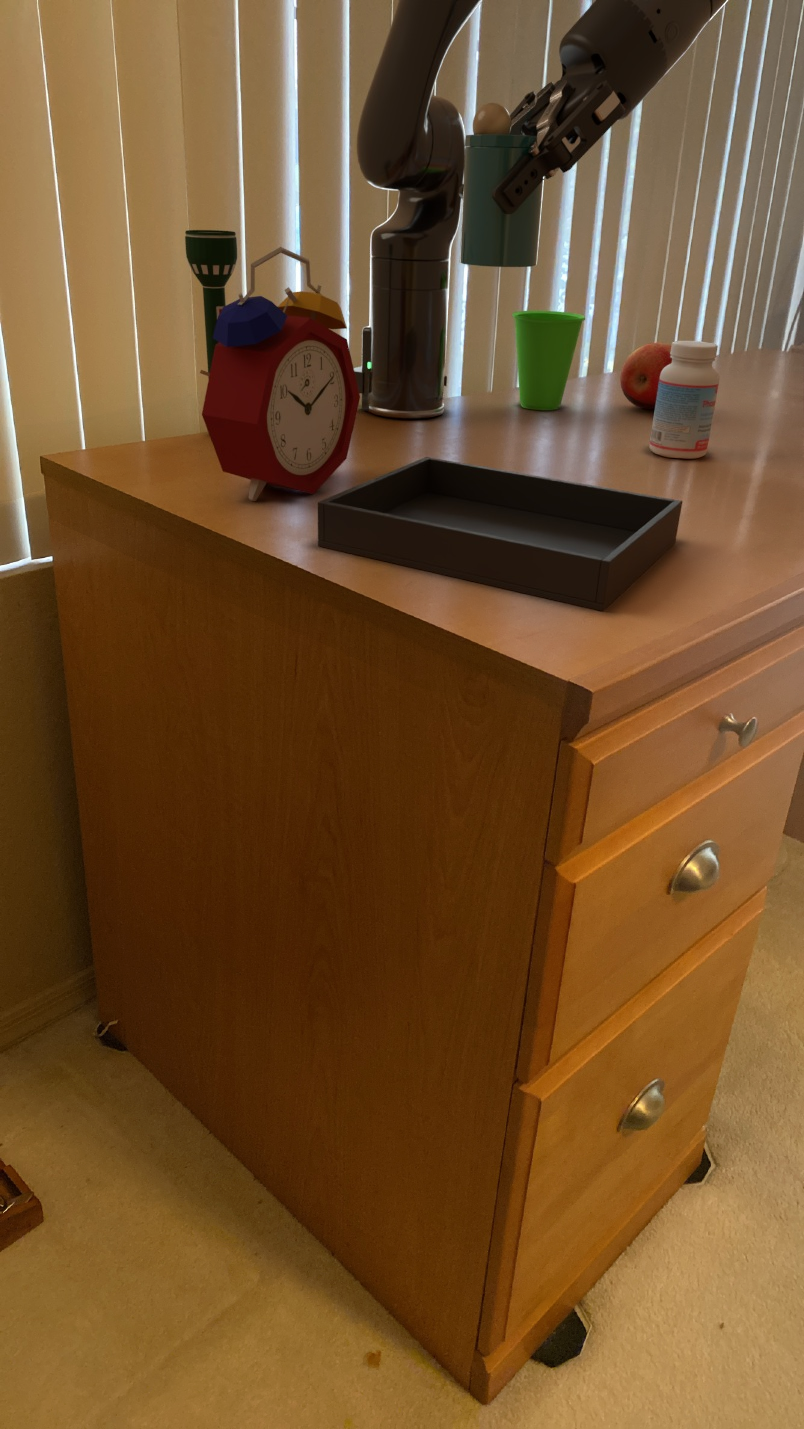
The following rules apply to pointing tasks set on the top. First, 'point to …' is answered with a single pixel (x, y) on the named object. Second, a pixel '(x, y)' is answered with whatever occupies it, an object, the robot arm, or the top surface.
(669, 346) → the apple
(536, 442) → the top surface
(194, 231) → the flashlight
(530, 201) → the pour cup
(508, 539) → the tray
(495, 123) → the ball
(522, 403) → the cup
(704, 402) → the pill bottle
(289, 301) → the alarm clock
